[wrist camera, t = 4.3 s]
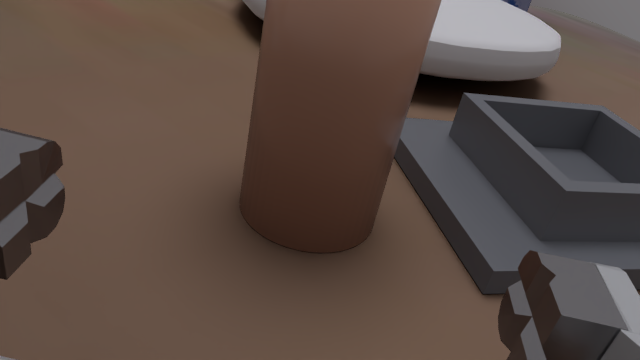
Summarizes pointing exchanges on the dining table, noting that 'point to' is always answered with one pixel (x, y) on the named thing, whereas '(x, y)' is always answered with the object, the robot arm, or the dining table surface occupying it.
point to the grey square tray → (528, 184)
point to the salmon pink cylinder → (329, 116)
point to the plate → (482, 41)
